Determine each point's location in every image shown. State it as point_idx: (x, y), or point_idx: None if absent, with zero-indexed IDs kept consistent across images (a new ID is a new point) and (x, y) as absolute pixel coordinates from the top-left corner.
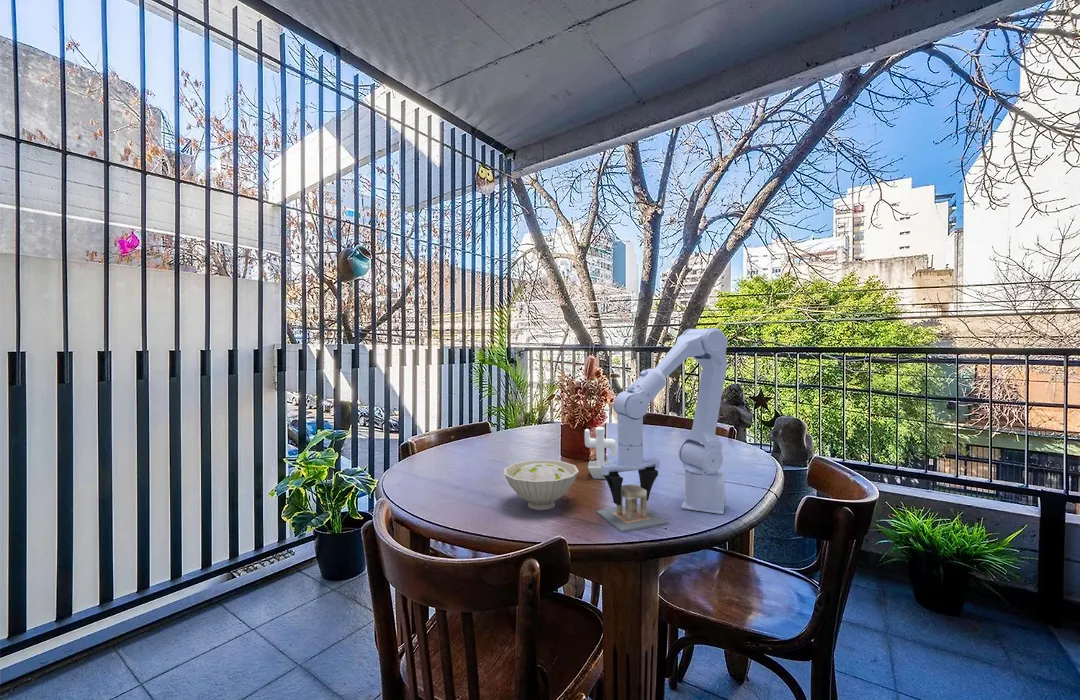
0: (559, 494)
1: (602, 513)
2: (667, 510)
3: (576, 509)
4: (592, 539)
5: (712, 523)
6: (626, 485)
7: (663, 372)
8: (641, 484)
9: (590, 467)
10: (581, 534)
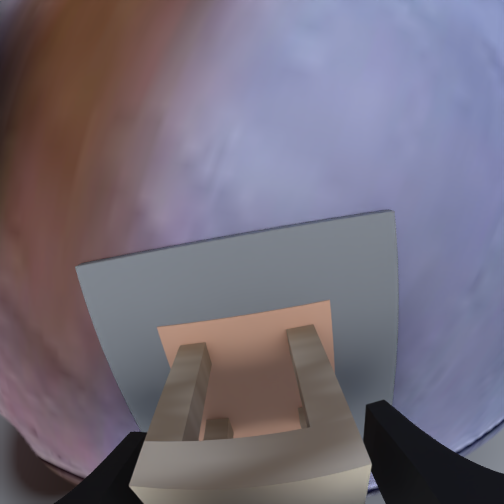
0: None
1: (101, 315)
2: (472, 307)
3: (8, 190)
4: (71, 460)
5: (490, 419)
6: (248, 496)
7: None
8: (410, 479)
9: None
10: (38, 426)
